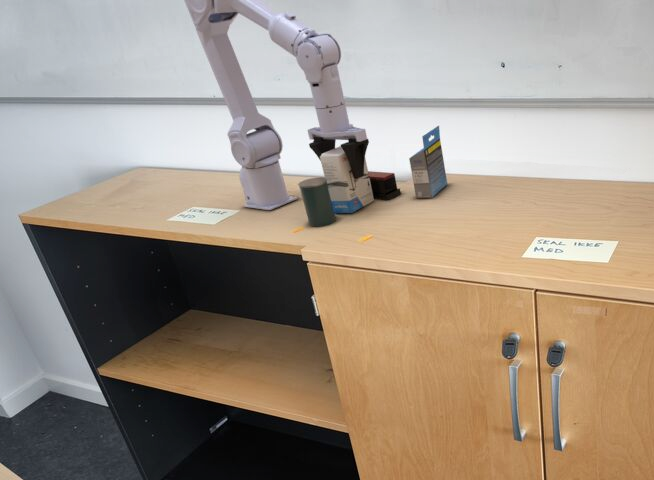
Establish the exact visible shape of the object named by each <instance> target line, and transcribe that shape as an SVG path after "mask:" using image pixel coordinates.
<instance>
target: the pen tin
mask: <svg viewBox="0 0 654 480" xmlns="http://www.w3.org/2000/svg"><path fill="white" fill-rule="evenodd" d="M298 187H299V190H300V194H301V197H302V198H301V199H302V201H303V205H304V209H305V212H306V213H305V214H306V217H307V220H308V224H309V226H310V227H315V228H317V227H318V228H319V227H325V226H328V225H331V224H332V223H334V222H335V221H336V219H337V218H336V215H335V214H336V213H334V210H333V206H332V202H331V198H330V193H329V189H328V185H327V179H326V178H325V176H324V177H323V176H320V177H319V176H318V177H312V178H307V179H305V180H304V179H303V180H302V181H300V182H298Z"/></svg>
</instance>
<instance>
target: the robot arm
mask: <svg viewBox="0 0 654 480" xmlns="http://www.w3.org/2000/svg"><path fill="white" fill-rule="evenodd" d="M183 1H184V3H185V5H186V8H187V11H188V13H189V15H190V18H191V21H192V22H193V25H194V27H195V31H196V33H197V36H198V39H199V42H200V44H201V46H202V49H203V51H204V53H205V55H206V58H207V61H208V63H209V65H210V68H211V70H212V72H213V75H214V77H215V80H216V83H217V85H218V87H219V90H220V92H221V94H222V97H223V99H224V101H225V104H226V106H227V109H228V111H229V114H230V117H231V118H232V123H231V125H230V128H229V129H228V131H227V134H226V135H227V137H228V140H229V143H230V150H231V154H232V157H233V159H234V160H235V161H236V163H237V164H239V165H240V166H241V167H240V170H239V174H238V176H239V178H238V179H239V181H240V185H241V188H242V192H243V195H244V198H245V201H246V203H245V204H243V206H244V208H251V209H258V210H264V211H273V210H274V209H277V208H279V207H282V206H284V205H287V204H288V203H291V202H294V201H296V200H298V196H293V195H289V194H288V193H289V192H288V191H287V190H288V189H287V186H286V182H285V179H284V174H283V171H282V167H281V163H280V160H281V159H282V158H281V153H282V151H283V147H284V146H283V140H282V137H281V135H280V134H279V133H278V131H277V130H276V129H275V127H274V125H273V123H272V121H271V119H270V118H268V117H267V116H265V115H264V114H261V113H260V112H259V110H258V108H257V105H256V103H255V100H254V98H253V95H252V92H251V90H250V87H249V85H248V83H247V80H246V77H245V76H244V75H245V74H244V73H243V70H242V67H241V65H240V62H239V60H238V57H237V55H236V52H235V50H234V48H233V45H232V42H231V40H230V37H229V35H228V32H229V29H230V27H231V25H232V24H233V22H234V21H235V20H236V18H237V16H238V15H241V16H243V17H244V18H246V19H248V20H249V21H251V22H253V23H254V24H256V25H258V26H260V27H261V28H263V29H265V30H266V31H268V35H269V38H270V40H271V41H272V42H273V43H274V44H276V45H277V46H279V47H280V48H281V49H283V50H284V51H285V52H287V53H288V54H290V55H292V56H293V57H294V58H295V59H296V62H297V64H298V66H299V67H300V69H301V70H302V72H303V73H304V75H305V80H306V81H307V83H309V87H310V91H311V96H312V101H313V104H314V108H315V112H316V113H315V114H316V117H317V122H318V126H319V127H317V126H314V127H311V128H309V129H307V134H308V138H309V140H311V141H312V142H309V144H308V146H309V148H310V149H311V151H313V153H314V154H315V155H316V157H317V158H318V159H319V161H320V162H321V160H320V156H321V154H323V153H325V152H327V151H330V150H332V149H335V148H336V142H337V141H338V140H339V141H346V142H344V143H341V144H340V146H341V148H342V149H343V151H344V152H345V154H346V156H347V158H348V161H349V164H350V167H351V171H352V174H353V177H354V179H358V178H361V177H363V176H364V160H365V159H366V153H367V149H368V146H369V143H370V140H369V138H368V135H367V131H366V128H362V127H361V128H360V127H357V126H354V124H353V123H350V120H349V116H348V110H347V105H346V99H345V96H344V92H343V88H342V87H343V86H342V82H341V77H340V72H339V67H338V65H339V64H340V62H341V58H342V50H341V46H340V44H339V42H338V41H337V39H336V38H335V37H333V36H332V35H331V33H328V32H324V33H319V32H316V30H315V29H314V28H313V27H309V26H307V25H306V24H304V23H303V22H301V20H298V19H297V18H296V17H297V15H296V14H294V13H293V12H291V11H290V12H280V13H277V12H276V11H274V9H273V8H271V7H270V6H269V5H267V4H266V3H264V2H263V1H262V0H183ZM252 130H253V131H252ZM250 131H251V132H250ZM336 140H337V141H336Z"/></svg>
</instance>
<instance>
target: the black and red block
mask: <svg viewBox="0 0 654 480" xmlns="http://www.w3.org/2000/svg"><path fill="white" fill-rule="evenodd" d="M368 174H369V178H370V183H371V188H372V193H373V197H374V200H384V201H390V200H392V199H394V198H396V197H398V196H400V195H402V191H401V188H398V184H397V180H396V179H397V178H396V175H395V172H383V171H373V170H372V171H371V170H368Z"/></svg>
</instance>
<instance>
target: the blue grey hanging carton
mask: <svg viewBox="0 0 654 480" xmlns="http://www.w3.org/2000/svg"><path fill="white" fill-rule="evenodd" d="M431 137H433V138H432V139H431V140H430V138H431ZM421 138H422V144H423V147H422V148H421V149H420V150H418V151H417V152H415V154H413V155H411V156H410V157H409V158H408V160H409V165H410V171H411V177H412V182H413V188H414V193H415V194H414V195H415V199H433V198H434V197H435V196H436V195H438V193H439V192H440V191H441V190H442V189H444V188H445V187H446V186H447V185H448V180H447V174H446V165H445V160H444V154H443V149H442V143H441V133H440V125H437V126H436V127H434V128H433V129H431V130H429V131H428V132H427V133H425V134H424V135H422V137H421Z"/></svg>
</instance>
